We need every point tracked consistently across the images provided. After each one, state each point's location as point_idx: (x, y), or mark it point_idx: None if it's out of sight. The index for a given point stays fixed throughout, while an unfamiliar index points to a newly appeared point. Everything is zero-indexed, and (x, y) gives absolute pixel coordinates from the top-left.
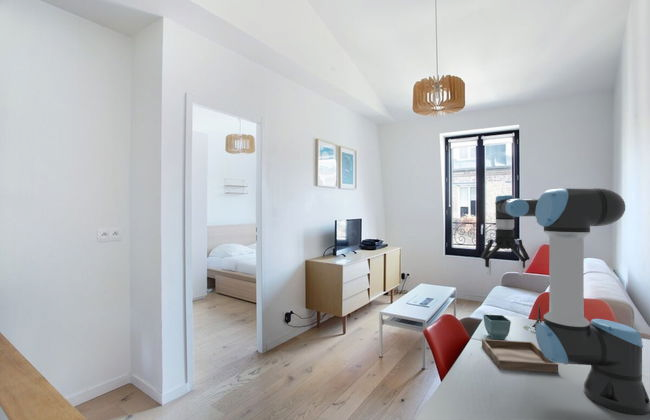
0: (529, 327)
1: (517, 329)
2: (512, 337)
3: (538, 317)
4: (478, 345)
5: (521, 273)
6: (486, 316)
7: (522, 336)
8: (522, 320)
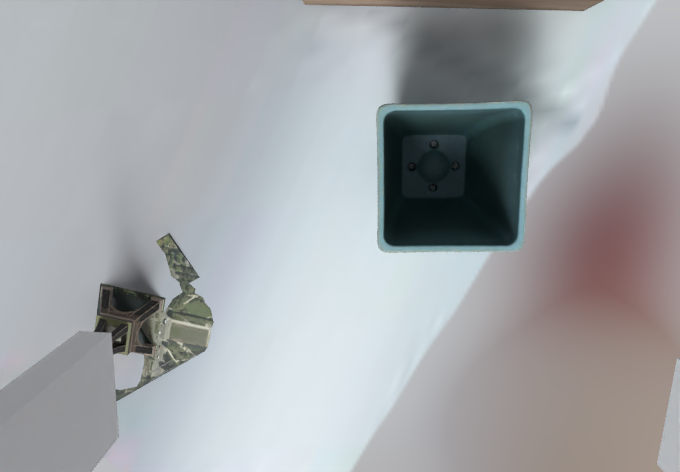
0: (174, 339)
1: (255, 304)
2: (338, 174)
3: None
4: (598, 22)
5: (83, 349)
6: (497, 241)
7: (273, 196)
8: (165, 450)
